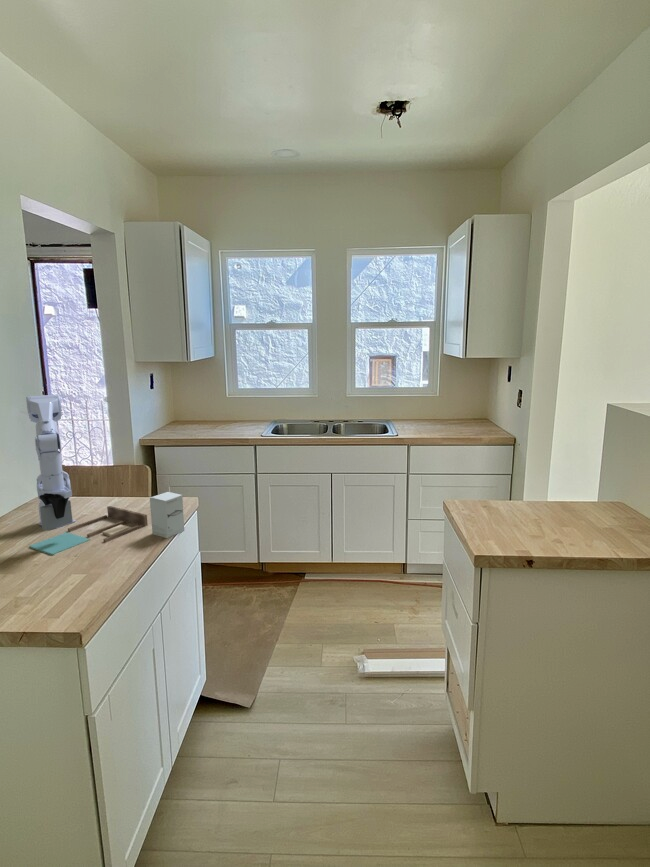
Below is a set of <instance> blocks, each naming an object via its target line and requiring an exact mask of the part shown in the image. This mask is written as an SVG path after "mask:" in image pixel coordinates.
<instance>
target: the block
mask: <svg viewBox="0 0 650 867" xmlns="http://www.w3.org/2000/svg"><path fill="white" fill-rule="evenodd" d="M40 512H41V520H42V525H41V528H42V531H47V532H48V531H52V530H55V529H54V528H56V529H58V528H57V527H59V528H61V527H60V526H62V527H64V526H63V525H65V526H67V525H66V524H68V525H69V523H70V524H73V523H74V522H73V521H72V519H73V513H72V502H71V500H69V499H68V501H67V504H66V508H65V513H64V517H62V518H59V519H56V517H55V514H54V509H53V506H52V504H49V505H45V506H42V507H40ZM72 522H73V523H72Z"/></svg>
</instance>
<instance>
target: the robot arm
mask: <svg viewBox="0 0 650 867" xmlns="http://www.w3.org/2000/svg"><path fill="white" fill-rule="evenodd" d="M25 400H26V410H27V413H28V418H29V419H30V422H33V423H35V435H36V437H34V444H35V445H34V446H35V451H36V454H37V458H38V461H39V471H40V474H39V475H38V476H37V478H36V491H37V498H38V499H39V502H38V512H39V513H38V514H39V520H40V521H39V522H37V524H38V526H39V525H40V526H42V520H41V512H40V507H42V506H45V505H49V504H52V506H53V509H54V514H55V517H56V519H59V518H62V517H64V513H65V508H66V504H67V501H68V500H69V499H70V498H72V497H73V492H72V491H73V490H72V486H71V480H70V475H69V474H68V472H66V471H64V470H63V462H62V454H61V453H62V451H63V449H62V441H61V435H60V432H59V429H58V424H57V421H60V420H61V419H62V410H63V409H62V402H61V395H60V394H58V393H56V394H48V395H47V394H46V395H45V394H43V395H27V396H26V399H25ZM72 521H73V522H72V523H69V524H73V523H75V522H77V520H75V519H73V518H72ZM69 524H66V525H63V526H60V527H57V528H54V529H53V530H56V529H59V528H63V527H65V526H68V525H69Z"/></svg>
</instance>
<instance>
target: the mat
mask: <svg viewBox="0 0 650 867" xmlns="http://www.w3.org/2000/svg"><path fill="white" fill-rule="evenodd" d="M89 541H91V539H90V538H89V537H84V536H81V535H79V534H78V535H77V534H74V533H71V532H68V531H67V532H64V533H61V534H58V535H55V536H53V537H50V538H48V539H44V540H41V541H38V542H37V543H33V544H30V545H29V546H28V547H29V548H30V549H32V550H37V551H39V552H41V553H45V554H46V555H47V554H48V555H51V556H55V555H56V554H59V553H61V552H63V551H66V550H69V549H71V548H74V547H76V546H79V545H81V544H84V543H87V542H89Z"/></svg>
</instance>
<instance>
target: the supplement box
mask: <svg viewBox="0 0 650 867" xmlns="http://www.w3.org/2000/svg"><path fill="white" fill-rule="evenodd" d="M183 502H184V500H183V494H179V493H174V492H172V491H166V492H162V493H161V494H157V495H154V496H150V497H149V506H150V521H151V533H152V535H153V536H154V535H155V536H157V537H161V538H166V539H169V538H172V537H174V536H176V535H178V534H181V533H182V532H185V518H184V515H185V514H184V503H183Z"/></svg>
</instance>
